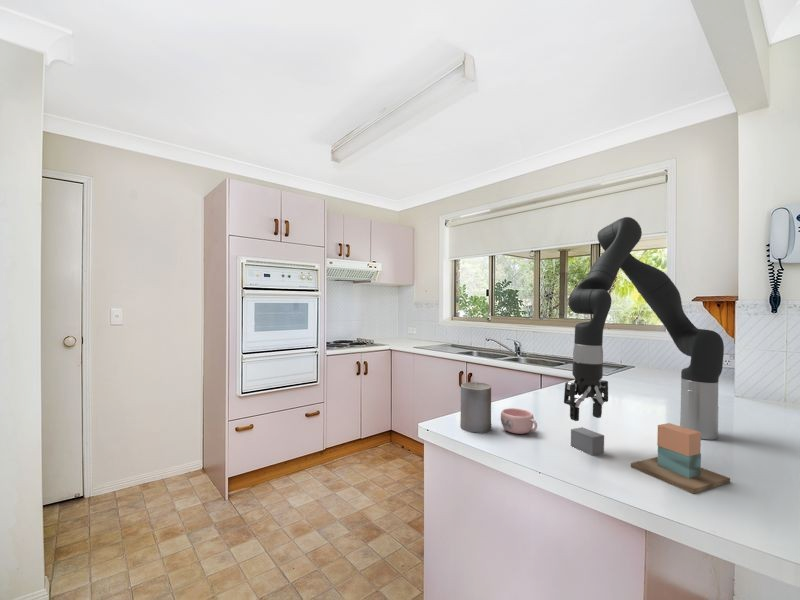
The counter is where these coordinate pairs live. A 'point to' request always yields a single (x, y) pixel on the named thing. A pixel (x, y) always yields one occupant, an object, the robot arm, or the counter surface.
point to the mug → (517, 420)
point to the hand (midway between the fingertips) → (585, 418)
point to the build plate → (679, 479)
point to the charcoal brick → (587, 441)
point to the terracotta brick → (679, 439)
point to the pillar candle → (475, 407)
